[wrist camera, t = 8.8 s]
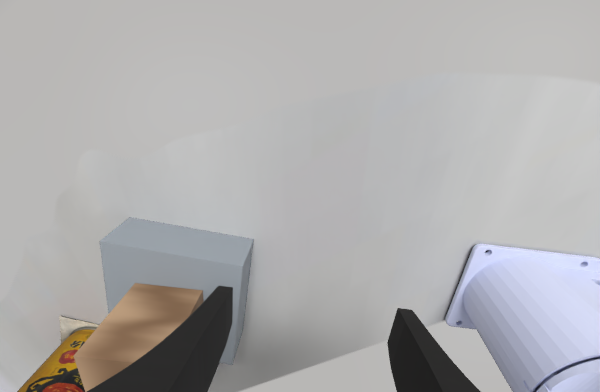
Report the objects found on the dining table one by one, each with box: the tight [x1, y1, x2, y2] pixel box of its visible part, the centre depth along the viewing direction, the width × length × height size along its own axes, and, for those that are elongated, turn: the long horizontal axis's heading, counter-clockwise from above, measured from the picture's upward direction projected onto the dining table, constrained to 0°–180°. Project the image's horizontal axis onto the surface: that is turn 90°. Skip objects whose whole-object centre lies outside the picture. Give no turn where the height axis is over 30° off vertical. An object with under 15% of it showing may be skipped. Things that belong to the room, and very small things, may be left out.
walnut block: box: [74, 283, 204, 392], centre depth 20 cm, size 5×5×6 cm
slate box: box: [100, 217, 254, 365], centre depth 25 cm, size 10×10×4 cm
